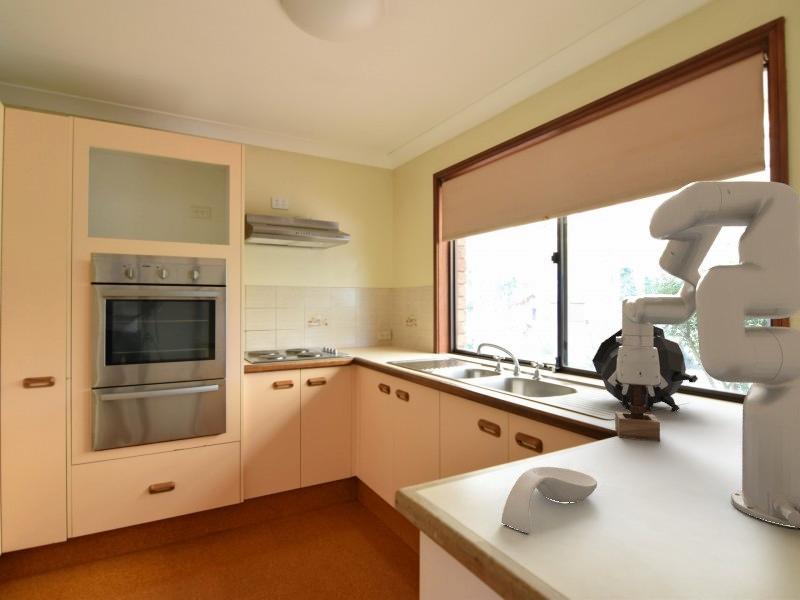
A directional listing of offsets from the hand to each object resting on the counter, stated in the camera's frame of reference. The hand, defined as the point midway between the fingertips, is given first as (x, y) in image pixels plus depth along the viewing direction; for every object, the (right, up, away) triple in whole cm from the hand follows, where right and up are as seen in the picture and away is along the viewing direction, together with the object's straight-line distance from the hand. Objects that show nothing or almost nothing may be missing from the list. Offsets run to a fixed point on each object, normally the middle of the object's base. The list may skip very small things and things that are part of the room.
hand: (637, 408), depth 121 cm
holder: (0, -7, 0) cm, 7 cm away
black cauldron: (+20, -8, +33) cm, 39 cm away
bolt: (0, -5, 0) cm, 5 cm away
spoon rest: (-38, -7, -43) cm, 58 cm away
